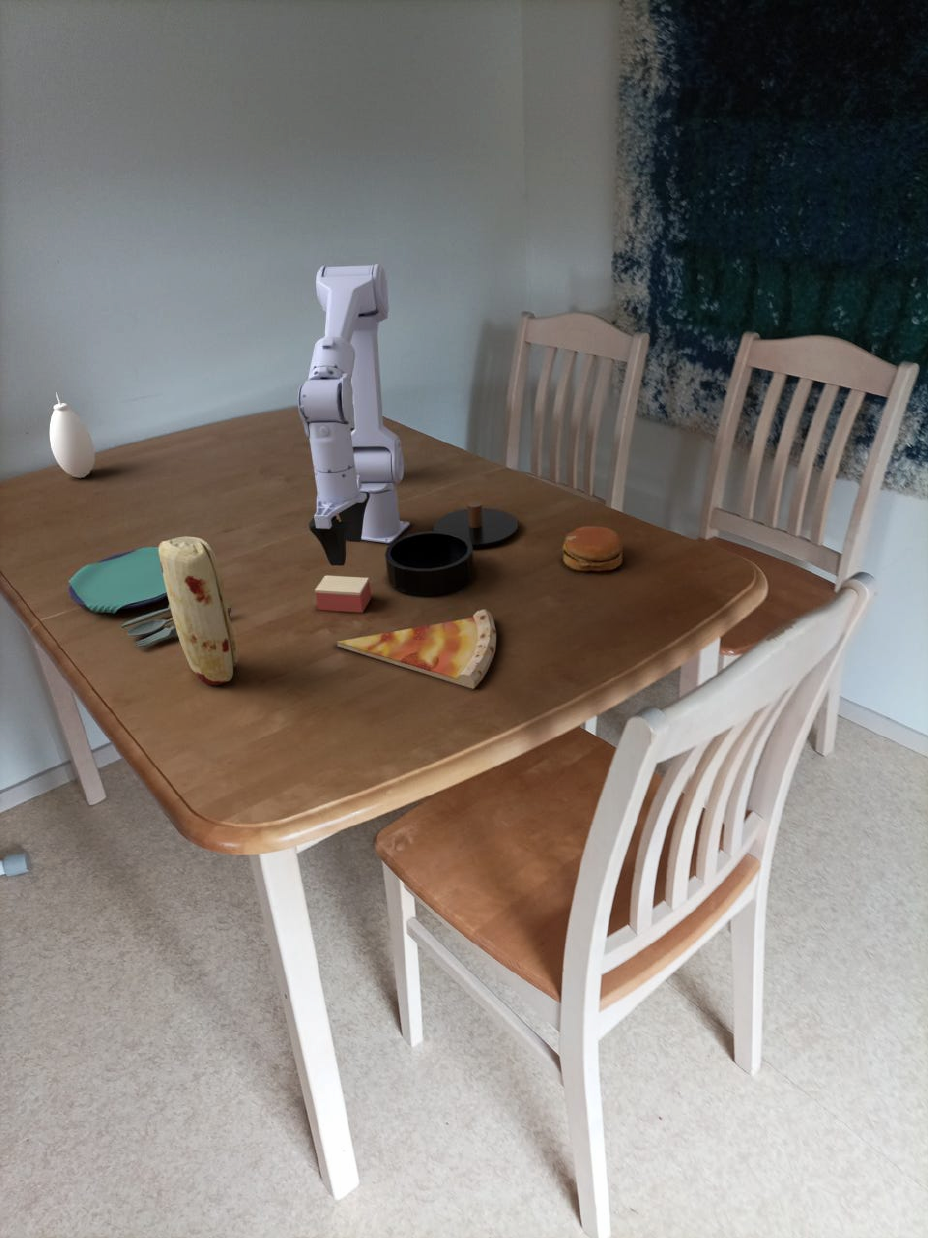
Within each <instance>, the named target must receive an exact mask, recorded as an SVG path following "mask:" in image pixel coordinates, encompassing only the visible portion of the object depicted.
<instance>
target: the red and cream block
mask: <svg viewBox="0 0 928 1238" xmlns="http://www.w3.org/2000/svg"><path fill="white" fill-rule="evenodd" d="M314 591H315V592H314V593H315V598H316V603H317V604H316V605H317V610H318V611H330V612H331V611H332V612H344V613H357V614H358V613H359V614H363V613H364V611H365V609H366V607H367V606H368V604H369V602H370V601H371V600H372V594H371V593H372V592H371V584H370V578H369V577H360V576H359V577H358V576H342V575H326V574H325V575H324V576H323V578H322V579H321V581H320V583H318V585H317V586H316V588H314Z"/></svg>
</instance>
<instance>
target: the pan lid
mask: <svg viewBox="0 0 928 1238" xmlns="http://www.w3.org/2000/svg"><path fill="white" fill-rule="evenodd" d="M518 528H519V523H518V520H517V518H515V516H514V515H512V514H510V513H509V512H506V511H505V510H500V509H496V508H491V507H483V504H482V502H481V501H476V500H473V501H469V502H468V503H467V508H462V509H457V510H455V511H451V512H448V513H447V514H444V515H442V516H441V517H439V518H438V519H437V520H436V521H435V522H434V525H433V531H442V532H449V533H454V534H457V535H460V536H463V537H464V538H466V539H467V540H469V541H470V543H471V545H472V546H473V548H479V547H486V546H487V547H488V546H493V545H496V544H499V543H502V542H505V541H507V540H509V539H511V538H512V537H513V536H514V535H515V534H517V532H518Z"/></svg>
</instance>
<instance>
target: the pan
mask: <svg viewBox="0 0 928 1238" xmlns="http://www.w3.org/2000/svg"><path fill="white" fill-rule="evenodd" d="M384 558H385V566H386V568H385V569H386V577H387V580H388V583H389V585H390V587H392V589H394V590H395V591H396V592H399V593H401V594H403V595H407V596H412V597H420V598H429V597H432V598H433V597H440V596H446V595H449V594H452V593H455V592H458V591H460V590H461V589H463V588H465V587H466V586H468V585H469V584H470V583H471V582H472V580H473V579H474V576H475V575H474V574H475V572H474V570H475V567H474V566H475V565H474V547H473V546H472V545H471V543H470V541H469V540H467V539H466V538H464V537H463V536H460V535H457V534H454V533H449V532H442V531H434V530H432V531H431V530H430V531H429V530H428V531H420V532H414V533H411V534H408V535H407V534H406V535H403V536H401V537H400V538H396V539H395V540H394V541H393V542H392V543H389V545H388V546H387V547H386V550H385V553H384Z"/></svg>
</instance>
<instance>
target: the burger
mask: <svg viewBox="0 0 928 1238" xmlns="http://www.w3.org/2000/svg"><path fill="white" fill-rule="evenodd" d="M623 547H624V546H623V542H622V540H621V537H620V535H619V534H618V533H617V532H616V531H615V530H613V529H610V528H608V527H603V526H594V525H593V526H592V525H591V526H590V525H588V526H587V525H586V526H580V527H578V528H576V529H574V530H573V531H571V532H569V533H567V534H566V535H565V538H564V542H563V545H562V550H561V552H562V554H563V557H562V558H563V559H562V560H563V563H564V565H566V566H567V567H568V568H570V569H572V570H574V571H577V572H590V571H593V572H594V571H595V572H604V571H611V570H615V569H616V568H618V567H619V566H620V565H621V564H622V562H623V552H622V551H623Z"/></svg>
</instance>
